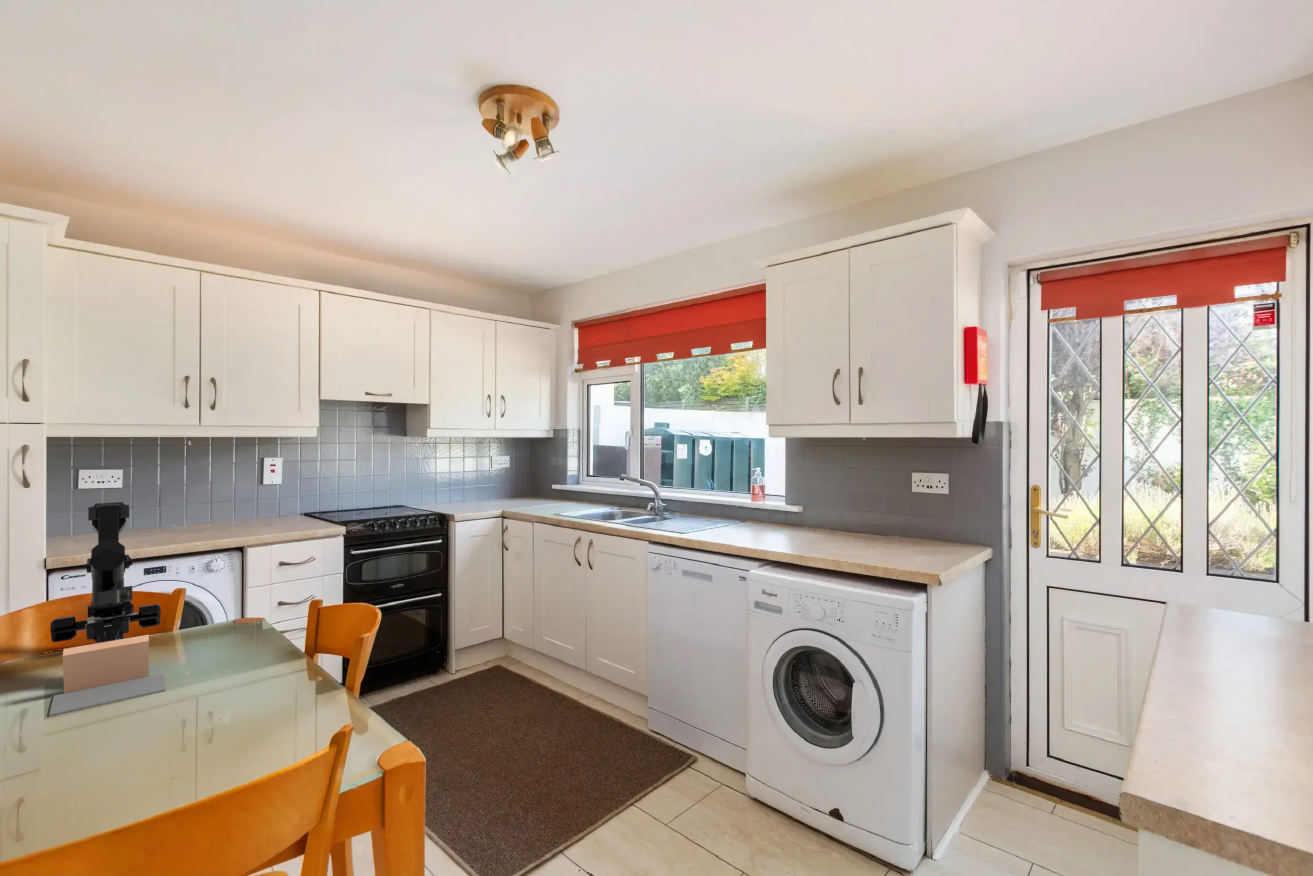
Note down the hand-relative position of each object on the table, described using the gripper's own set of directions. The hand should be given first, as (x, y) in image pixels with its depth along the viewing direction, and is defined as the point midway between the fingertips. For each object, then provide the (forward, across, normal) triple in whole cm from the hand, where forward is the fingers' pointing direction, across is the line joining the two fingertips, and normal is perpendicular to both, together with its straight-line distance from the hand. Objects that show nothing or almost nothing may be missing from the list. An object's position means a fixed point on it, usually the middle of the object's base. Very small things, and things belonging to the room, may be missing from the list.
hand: (107, 654), depth 136 cm
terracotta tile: (+4, 0, +5) cm, 7 cm away
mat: (+10, 0, 0) cm, 10 cm away
